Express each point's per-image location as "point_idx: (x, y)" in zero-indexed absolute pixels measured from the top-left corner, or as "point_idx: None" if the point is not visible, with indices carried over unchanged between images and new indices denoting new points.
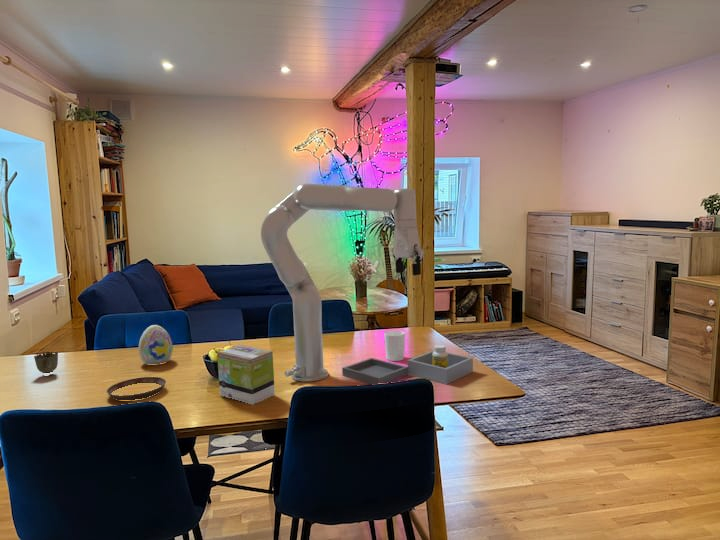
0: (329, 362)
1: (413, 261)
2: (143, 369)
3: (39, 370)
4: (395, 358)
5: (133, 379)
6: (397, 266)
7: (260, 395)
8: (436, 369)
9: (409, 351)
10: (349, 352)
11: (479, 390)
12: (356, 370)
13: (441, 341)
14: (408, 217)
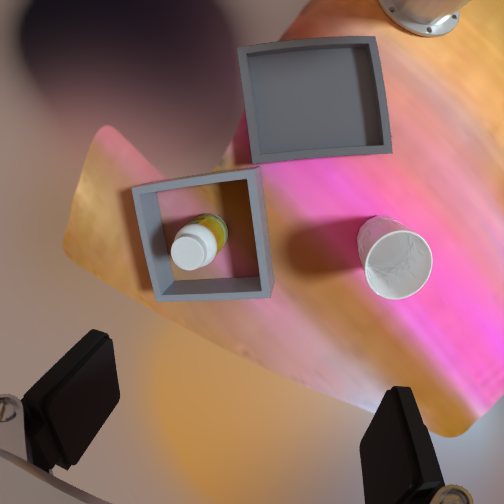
0: (475, 98)
1: (7, 420)
2: None
3: None
4: (364, 224)
5: None
6: (399, 442)
7: None
8: (160, 182)
9: (389, 309)
10: (499, 196)
11: (92, 207)
12: (367, 78)
13: (371, 405)
14: None
